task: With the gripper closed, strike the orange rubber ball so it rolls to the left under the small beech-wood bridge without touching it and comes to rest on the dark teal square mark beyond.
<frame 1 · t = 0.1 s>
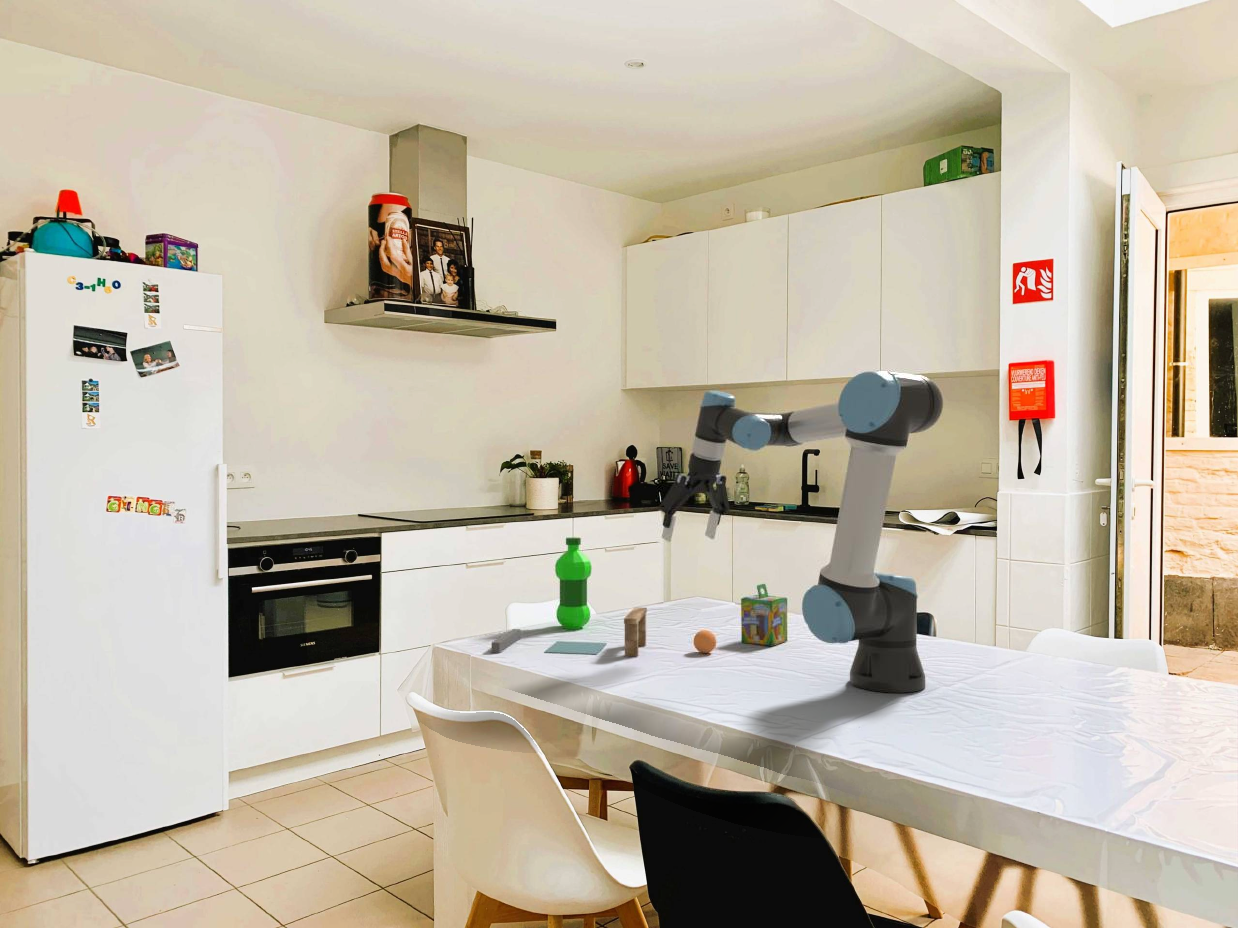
hand: (688, 538, 220), 28 cm above the table, tool tilted 20°, fingers open, 13 cm apart
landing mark: (576, 648, 225), on the table
plastic bottle: (573, 628, 253), on the table
chalk box: (764, 642, 233), on the table
stopper: (506, 645, 228), on the table
ball: (704, 641, 219), on the table
bridge: (635, 650, 222), on the table
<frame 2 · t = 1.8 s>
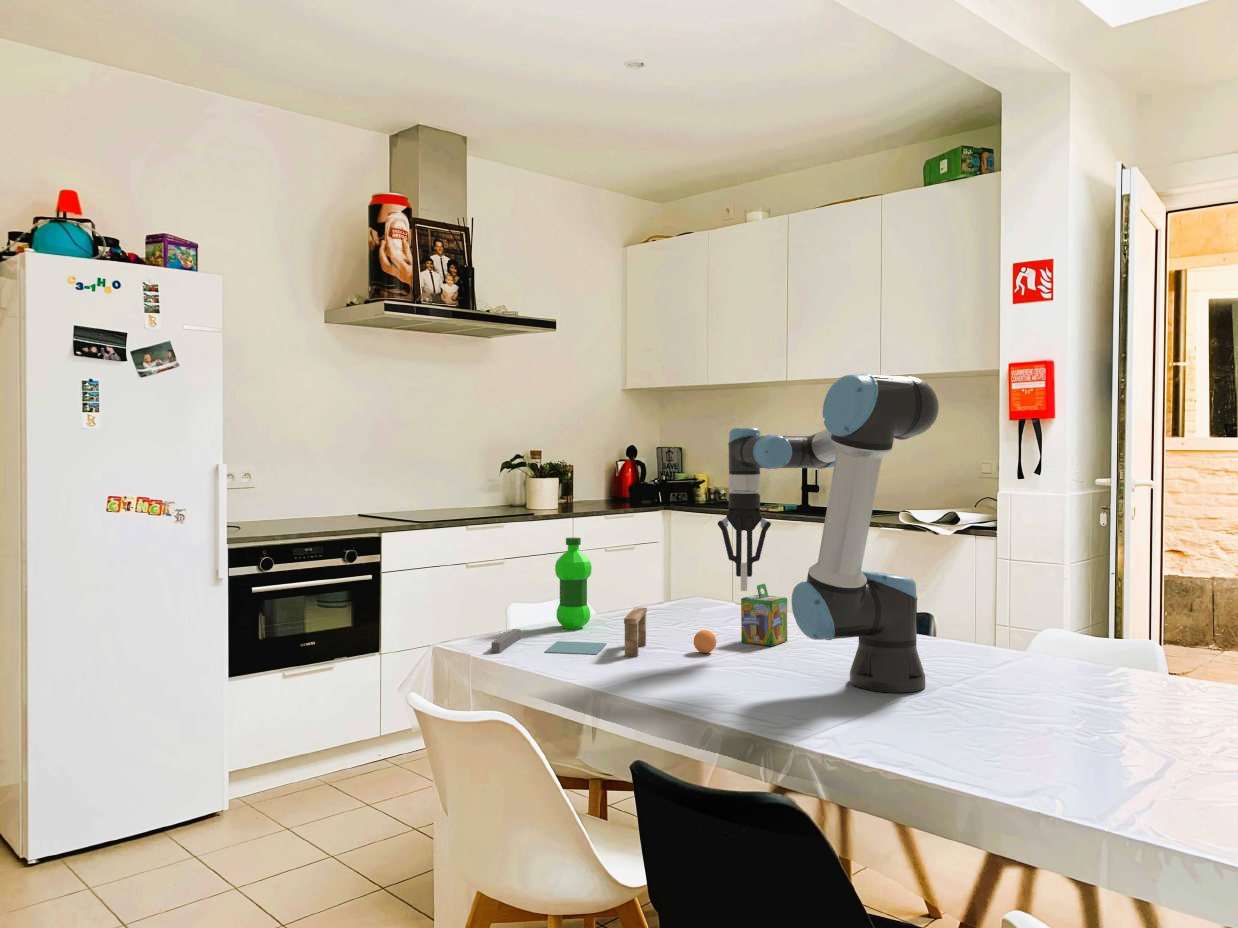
hand: (744, 590, 218), 15 cm above the table, tool pointing down, fingers closed
nothing on the table moved.
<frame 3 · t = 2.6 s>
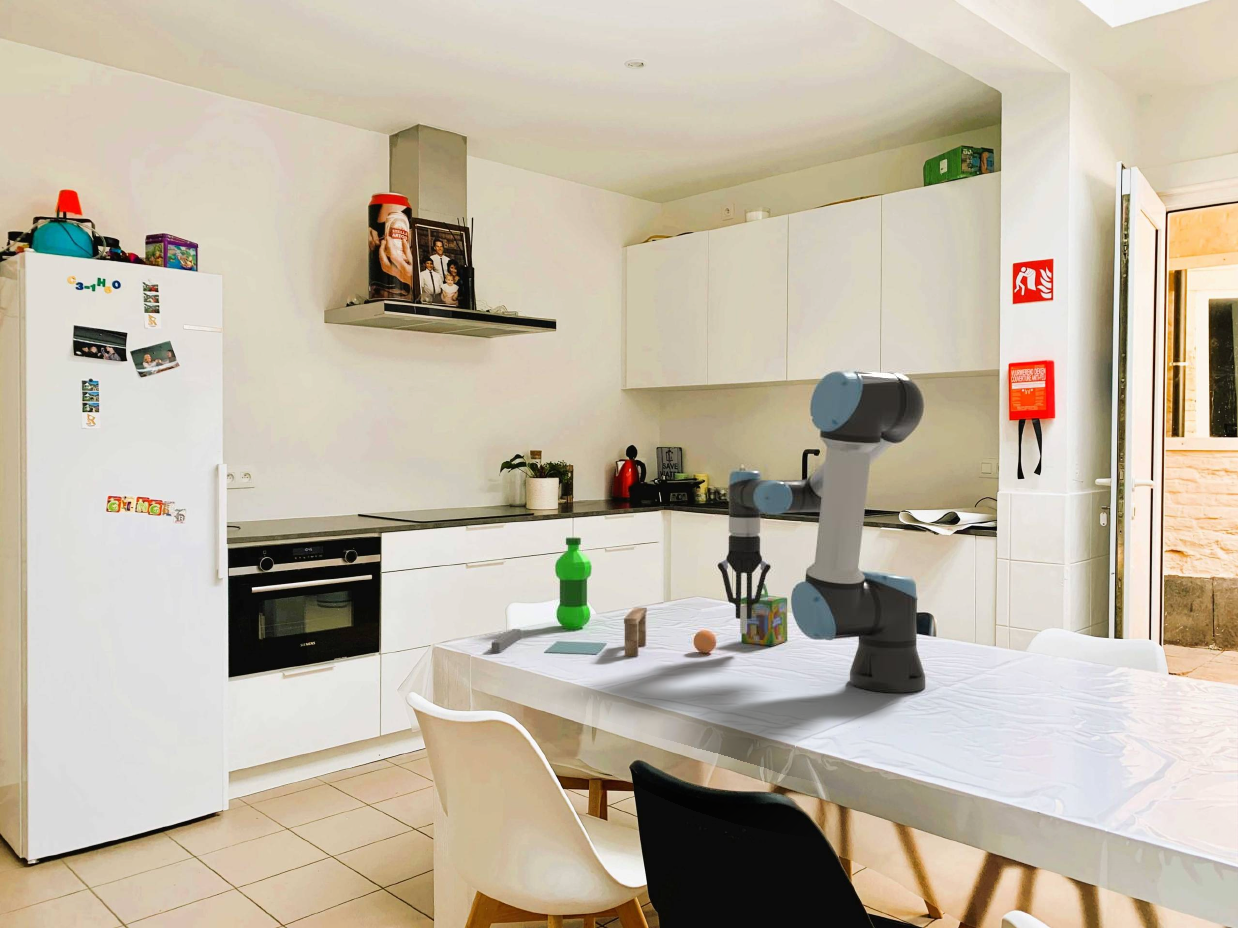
hand: (743, 632, 218), 5 cm above the table, tool pointing down, fingers closed
nothing on the table moved.
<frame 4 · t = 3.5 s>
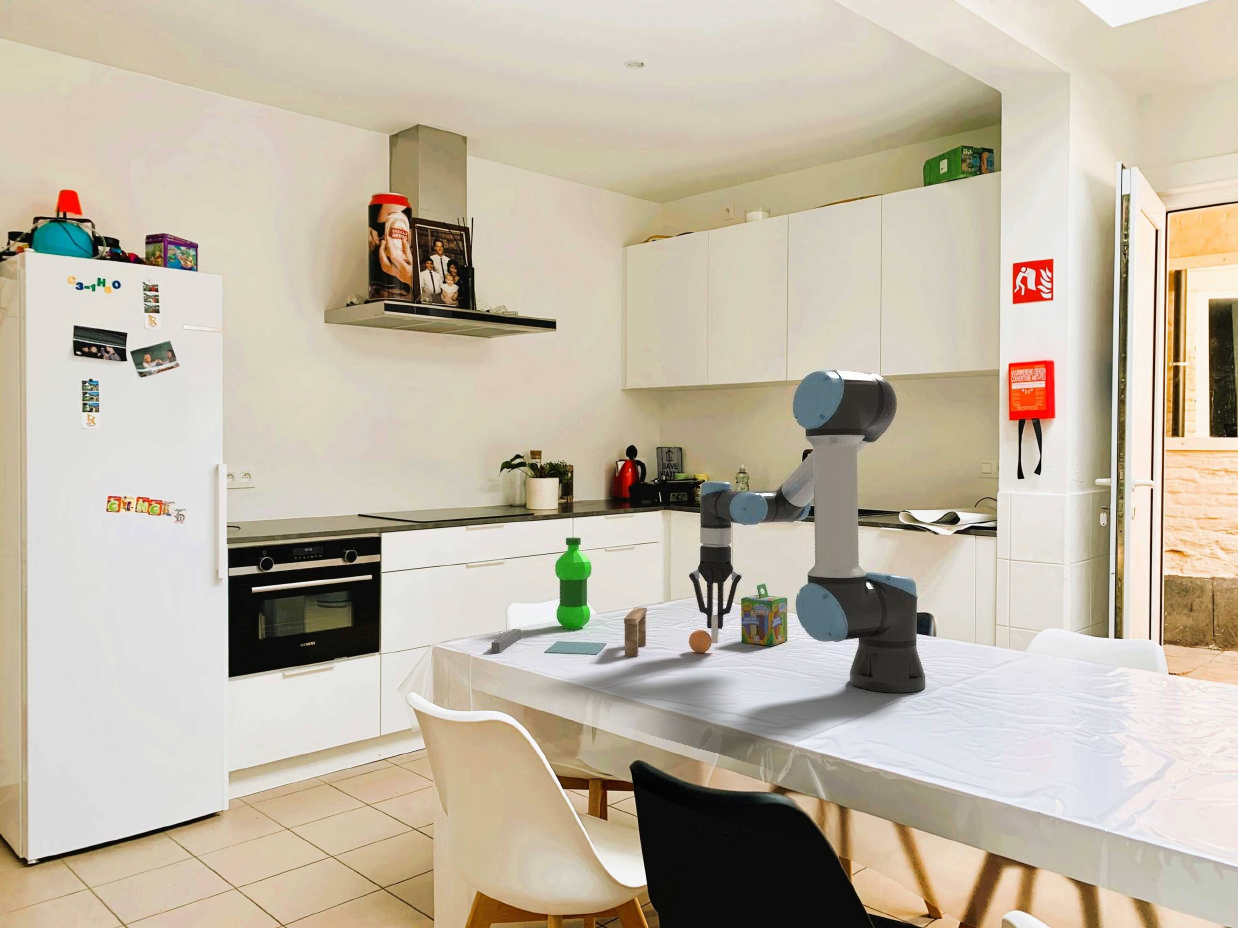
hand: (714, 641, 220), 3 cm above the table, tool pointing down, fingers closed
ball: (700, 641, 220), on the table, touching gripper
everything else where it was.
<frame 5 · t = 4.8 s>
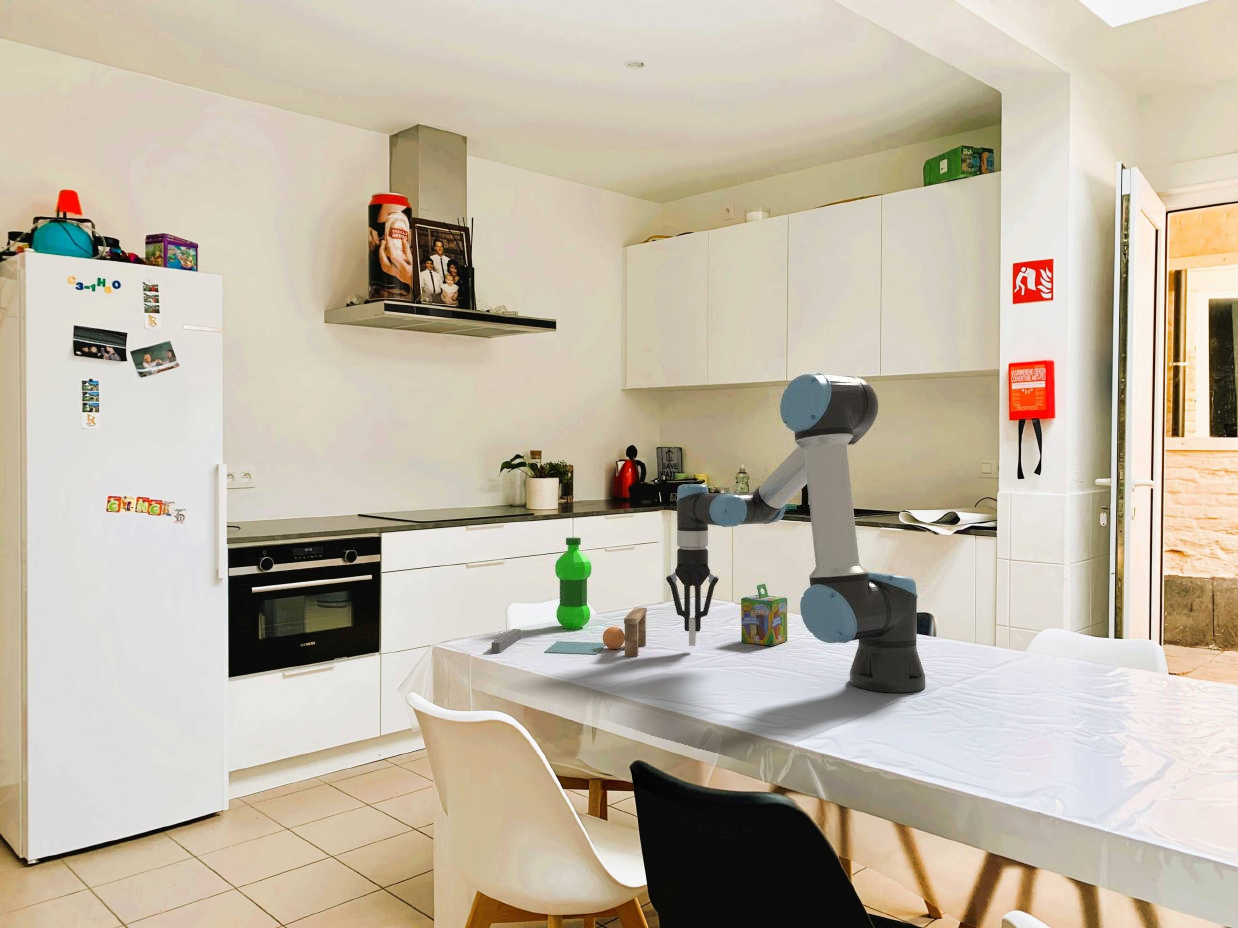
hand: (692, 644, 220), 2 cm above the table, tool pointing down, fingers closed
ball: (613, 637, 224), on the table
everything else where it was.
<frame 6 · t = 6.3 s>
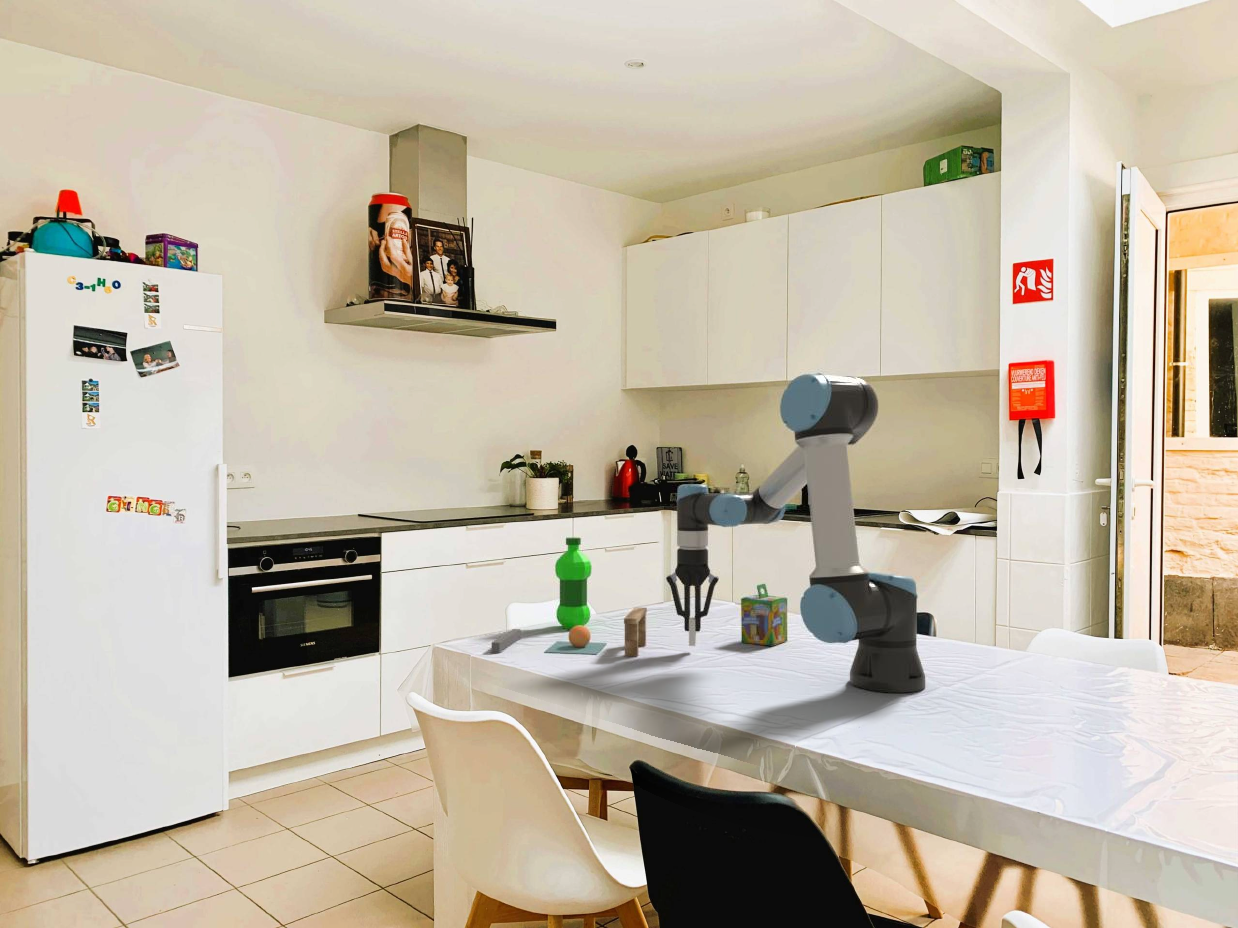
hand: (692, 644, 220), 2 cm above the table, tool pointing down, fingers closed
ball: (579, 636, 226), on the table
everything else where it was.
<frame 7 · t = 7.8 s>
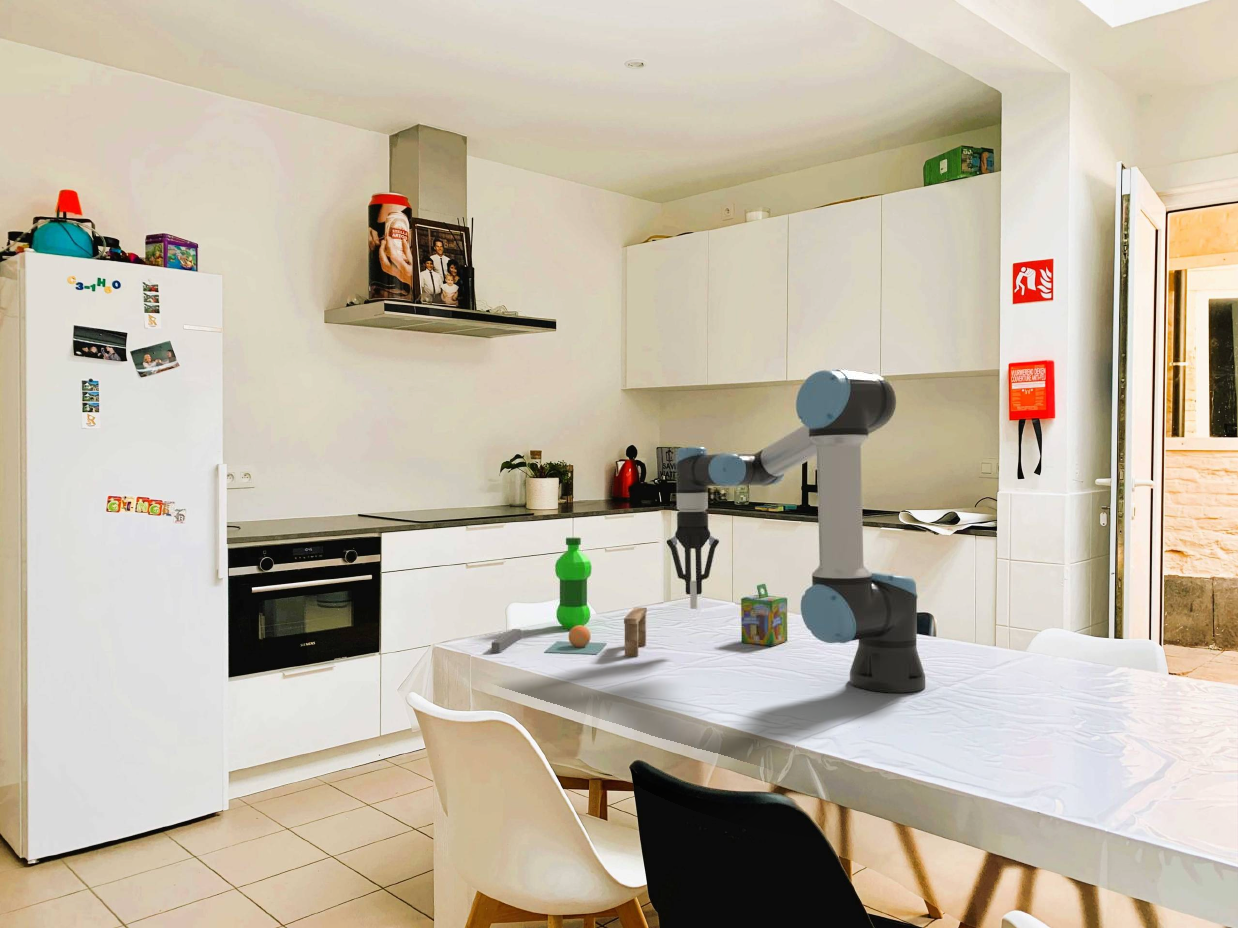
hand: (694, 607, 219), 11 cm above the table, tool pointing down, fingers closed
nothing on the table moved.
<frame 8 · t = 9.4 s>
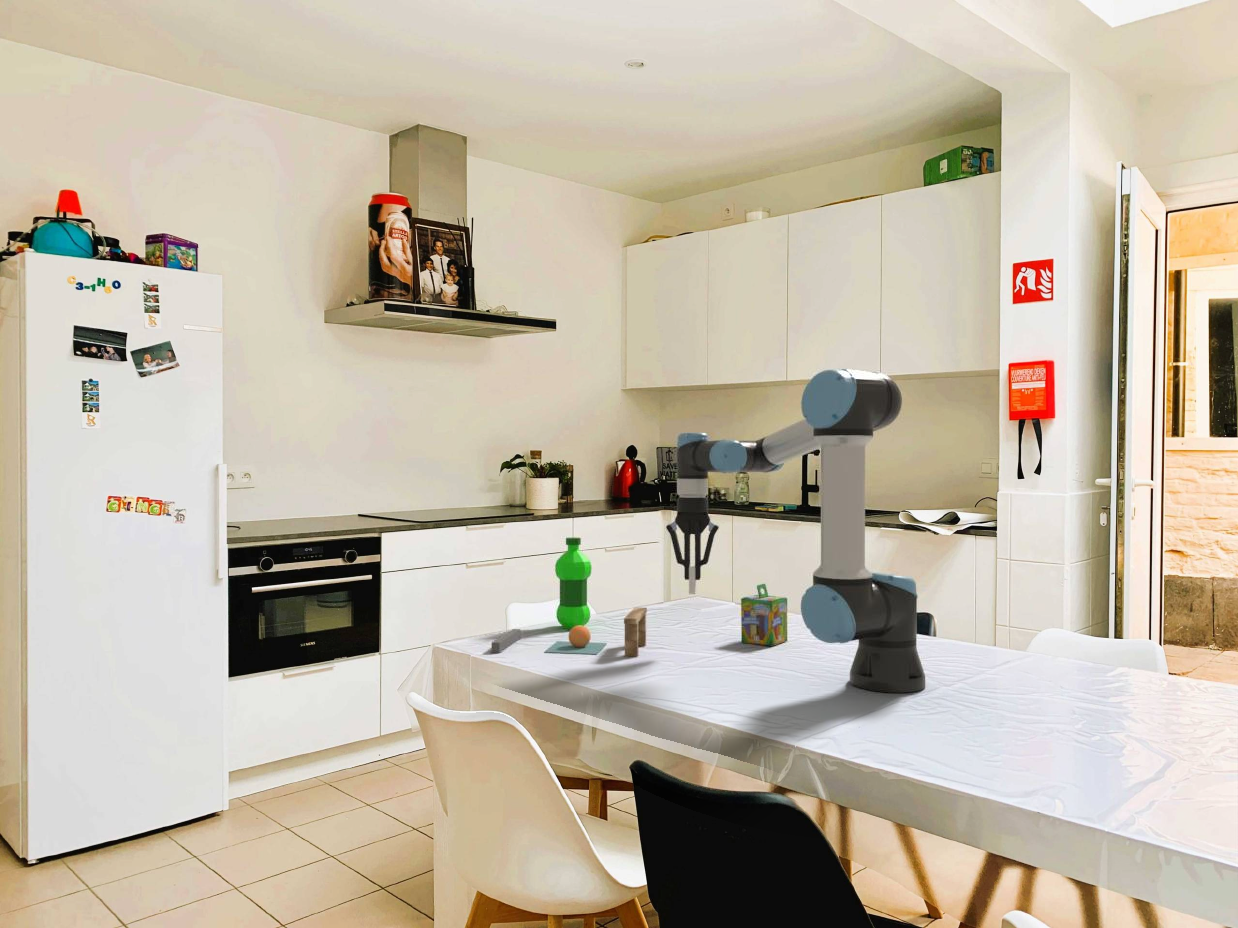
hand: (692, 593, 220), 14 cm above the table, tool pointing down, fingers closed
nothing on the table moved.
at the end: ball 1.2 cm from the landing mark (horizontally); ball never touched bridge; ball at rest at the end (0.0 cm/s) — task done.
